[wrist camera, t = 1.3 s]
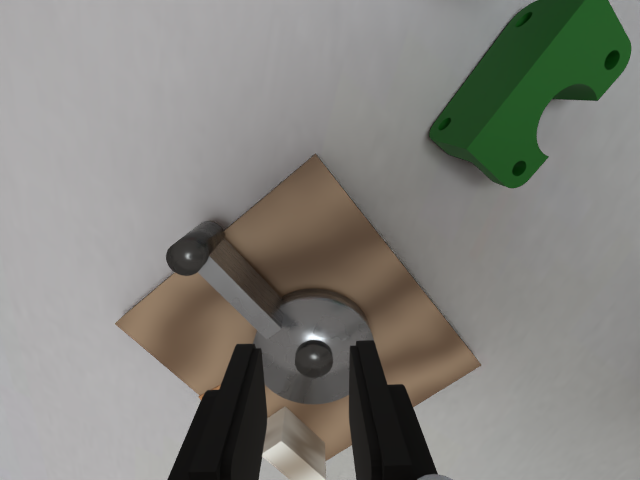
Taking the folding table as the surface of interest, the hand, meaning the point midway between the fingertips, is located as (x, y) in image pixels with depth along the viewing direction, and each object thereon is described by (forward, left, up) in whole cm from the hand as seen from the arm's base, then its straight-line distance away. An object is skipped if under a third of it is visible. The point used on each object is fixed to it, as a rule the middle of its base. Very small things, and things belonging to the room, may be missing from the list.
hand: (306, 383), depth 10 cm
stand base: (-7, +7, -17) cm, 20 cm away
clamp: (-1, -17, -18) cm, 25 cm away
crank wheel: (-3, +6, -15) cm, 17 cm away
